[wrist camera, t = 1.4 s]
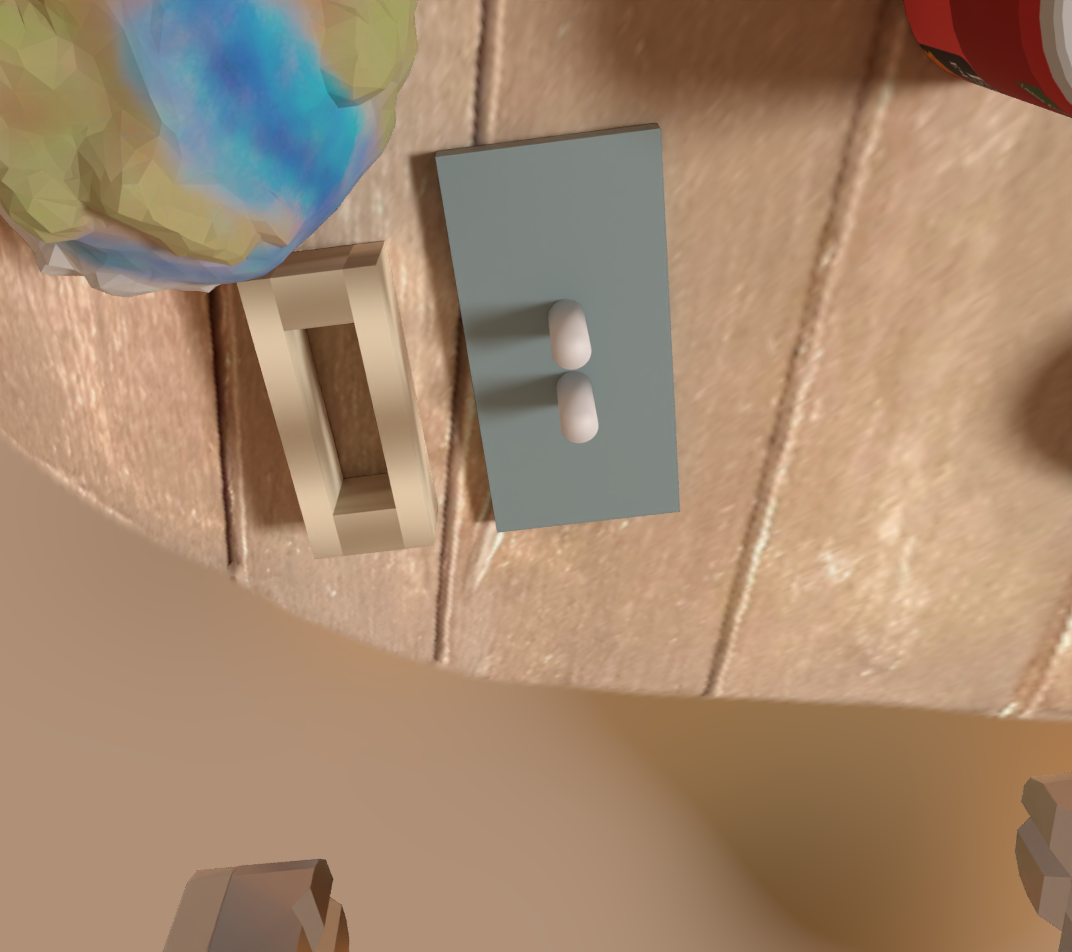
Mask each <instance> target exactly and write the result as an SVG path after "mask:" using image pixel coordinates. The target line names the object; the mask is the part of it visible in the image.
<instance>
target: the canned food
mask: <svg viewBox="0 0 1072 952" xmlns="http://www.w3.org/2000/svg"><path fill="white" fill-rule="evenodd" d="M903 3H904V8H905V13H906V16H907V19H908V21H909V24H910V26H911V29H912V31H913V34H914V36H915V39H916V40H917V42H918V43H919V45H920V46H921V47H922V49H923V50H924V52H925V53H926V55H927V56H928V57H929V58H930V59H931V60H932V61H934V62H935V63H936V64H937V65H938V66H939V67H940V68H941V69H943V70H944V71H946V72H948V73H950V74H952V75H954V76H956V77H958V78H960V79H963V80H966V81H968V82H971V83H974V84H977V85H980V86H983V87H985V88H988V89H991V90H994V91H997V92H1000V93H1002V94H1005V95H1008V96H1011V97H1014V98H1017V99H1019V100H1022V101H1025V102H1028V103H1031V104H1034V105H1036V106H1039V107H1042V108H1045V109H1048V110H1051V111H1053V112H1056V113H1059V114H1062V115H1065V116H1068V117H1070V118H1072V0H903Z"/></svg>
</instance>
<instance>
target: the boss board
mask: <svg viewBox="0 0 1072 952" xmlns="http://www.w3.org/2000/svg"><path fill="white" fill-rule="evenodd" d="M435 159H436V165H437V171H438V177H439V183H440V189H441V195H442V201H443V207H444V213H445V219H446V225H447V231H448V237H449V243H450V250H451V256H452V262H453V268H454V274H455V280H456V286H457V292H458V298H459V304H460V310H461V316H462V322H463V328H464V334H465V340H466V346H467V353H468V359H469V365H470V371H471V377H472V383H473V389H474V395H475V401H476V407H477V413H478V419H479V425H480V431H481V437H482V443H483V450H484V456H485V462H486V468H487V474H488V480H489V486H490V492H491V498H492V504H493V510H494V516H495V522H496V528H497V532H506V531H515V530H523V529H532V528H541V527H550V526H559V525H567V524H576V523H585V522H594V521H603V520H611V519H620V518H629V517H638V516H646V515H655V514H664V513H673V512H680V502H679V482H678V462H677V442H676V422H675V402H674V382H673V362H672V342H671V322H670V302H669V282H668V262H667V242H666V222H665V202H664V182H663V162H662V142H661V128H660V126H659V125H658V124H657V123H654V124H646V125H638V126H630V127H623V128H615V129H607V130H599V131H591V132H583V133H576V134H568V135H560V136H552V137H544V138H537V139H529V140H521V141H513V142H505V143H497V144H490V145H482V146H474V147H466V148H458V149H451V150H443V151H437V153H436V156H435Z"/></svg>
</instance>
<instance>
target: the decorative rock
mask: <svg viewBox="0 0 1072 952" xmlns="http://www.w3.org/2000/svg"><path fill="white" fill-rule="evenodd" d="M417 2H418V0H0V215H1V216H2V217H3V218H4V219H5V221H6V222H7V223H8V224H9V225H10V226H11V227H12V228H13V229H14V230H15V231H16V232H17V233H18V234H19V235H20V236H21V237H22V238H23V239H24V240H25V242H26V243H27V244H28V245H29V247H30V248H31V249H32V250H33V252H34V254H35V259H36V263H37V266H38V267H39V269H40V271H41V272H42V273H45V274H48V275H62V276H85V277H86V279H87V281H88V283H89V284H90V286H91V287H92V288H94V289H97V290H100V291H102V292H105V293H108V294H110V295H114V296H121V297H132V296H137V295H142V294H146V293H151V292H156V291H161V290H168V289H170V290H180V291H201V292H206V293H209V292H210V291H211V290H212V289H213V288H215V287H216V286H218V285H221V284H229V283H236V282H242V281H247V280H250V279H254V278H257V277H261V276H264V275H265V274H267V273H268V272H270V271H271V270H273V269H274V268H275V267H277V266H278V265H279V264H281V263H282V262H283V261H284V260H285V259H286V258H287V256H288V255H289V254H290V253H291V252H292V251H293V250H294V249H295V248H296V247H297V246H298V245H300V244H301V243H302V242H303V241H304V240H306V239H307V238H308V237H309V236H310V235H311V234H312V233H313V232H314V231H315V230H316V229H317V228H318V227H319V226H320V225H321V224H322V223H323V222H324V221H325V220H326V219H327V218H328V217H329V216H331V215H332V214H333V213H334V212H335V211H336V210H337V209H338V207H339V206H340V204H341V203H342V201H343V200H344V199H345V197H346V196H347V195H348V194H349V192H350V191H351V190H352V188H353V187H354V186H355V184H356V183H357V182H358V180H359V179H360V178H361V176H362V175H363V174H364V173H365V171H366V170H367V169H368V168H369V167H370V166H371V165H372V164H373V163H374V162H375V161H376V160H377V159H378V158H379V157H380V155H381V154H382V153H383V151H384V149H385V147H386V145H387V143H388V141H389V139H390V136H391V133H392V131H393V129H394V127H395V123H396V112H395V107H396V100H397V94H398V92H399V90H400V89H401V87H402V86H403V84H404V82H405V81H406V79H407V78H408V76H409V73H410V70H411V67H412V64H413V61H414V58H415V55H416V53H417V50H418V42H417V36H416V28H415V15H414V13H415V9H416V6H417Z"/></svg>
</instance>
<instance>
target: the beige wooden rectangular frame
mask: <svg viewBox="0 0 1072 952" xmlns="http://www.w3.org/2000/svg"><path fill="white" fill-rule="evenodd" d="M236 283H237V286H238V290H239V293H240V297H241V300H242V304H243V307H244V311H245V315H246V318H247V322H248V325H249V329H250V332H251V336H252V339H253V343H254V346H255V350H256V353H257V357H258V360H259V364H260V367H261V371H262V374H263V378H264V381H265V385H266V389H267V392H268V396H269V399H270V403H271V406H272V410H273V413H274V417H275V420H276V424H277V427H278V431H279V434H280V438H281V441H282V445H283V448H284V452H285V456H286V459H287V463H288V466H289V470H290V473H291V477H292V480H293V484H294V487H295V491H296V494H297V498H298V501H299V505H300V508H301V512H302V515H303V519H304V522H305V526H306V530H307V533H308V537H309V540H310V544H311V547H312V551H313V554H314V558H315V559H321V558H330V557H339V556H348V555H356V554H365V553H374V552H383V551H391V550H400V549H409V548H418V547H427V546H434V539H435V530H436V522H437V513H438V504H437V499H436V494H435V489H434V484H433V479H432V474H431V469H430V464H429V459H428V454H427V449H426V444H425V439H424V434H423V429H422V424H421V419H420V414H419V409H418V404H417V399H416V394H415V389H414V384H413V379H412V374H411V369H410V364H409V359H408V354H407V348H406V343H405V338H404V333H403V328H402V323H401V318H400V313H399V308H398V303H397V298H396V293H395V288H394V283H393V278H392V273H391V268H390V263H389V258H388V253H387V248H386V243H385V241H380V242H372V243H364V244H356V245H348V246H340V247H332V248H324V249H316V250H308V251H300V252H292V253H290V254H289V255H288V256H287V258H286V259H285V260H284V261H283V262H282V263H281V264H279V265H278V266H277V267H275V268H274V269H273V270H271V271H270V272H268V273H267V274H265V275H264V276H261V277H257V278H254V279H250V280H247V281H242V282H236ZM347 323H354V324H355V328H356V333H357V337H358V342H359V346H360V350H361V355H362V359H363V364H364V368H365V373H366V377H367V382H368V386H369V391H370V395H371V399H372V404H373V408H374V413H375V417H376V422H377V426H378V431H379V435H380V439H381V444H382V448H383V453H384V457H385V462H386V466H387V471H388V473H387V474H378V475H370V476H361V477H353V478H344V479H343V475H342V471H341V467H340V463H339V459H338V455H337V451H336V447H335V443H334V439H333V435H332V431H331V427H330V423H329V419H328V415H327V411H326V407H325V404H324V400H323V396H322V392H321V388H320V384H319V380H318V376H317V372H316V368H315V364H314V360H313V356H312V352H311V348H310V344H309V340H308V336H307V332H306V328H314V327H323V326H331V325H339V324H347Z"/></svg>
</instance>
